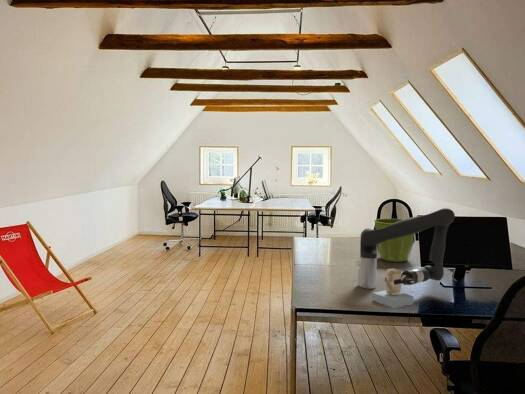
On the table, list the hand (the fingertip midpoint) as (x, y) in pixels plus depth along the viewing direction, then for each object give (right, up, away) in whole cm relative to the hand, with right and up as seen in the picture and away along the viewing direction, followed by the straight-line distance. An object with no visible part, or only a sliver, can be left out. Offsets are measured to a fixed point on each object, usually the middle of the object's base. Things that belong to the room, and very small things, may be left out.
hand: (390, 281), depth 221 cm
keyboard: (+67, -7, +81) cm, 105 cm away
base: (+2, -11, +2) cm, 12 cm away
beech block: (+2, -6, +2) cm, 7 cm away
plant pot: (+33, -4, +102) cm, 107 cm away
